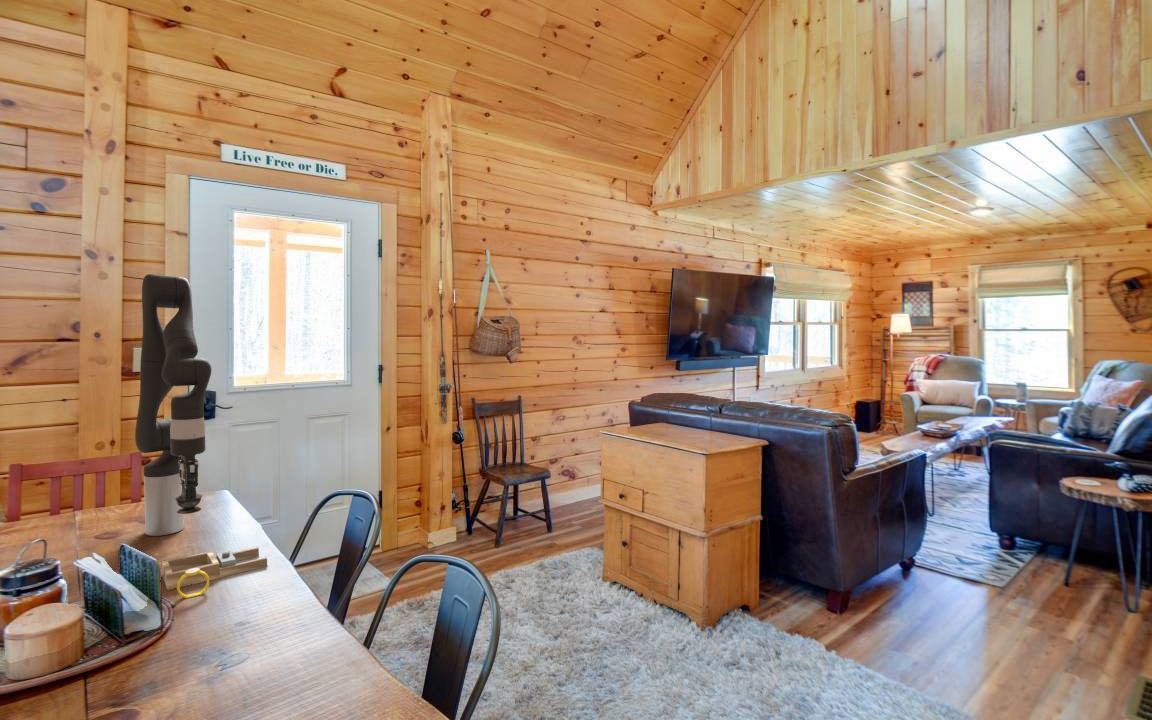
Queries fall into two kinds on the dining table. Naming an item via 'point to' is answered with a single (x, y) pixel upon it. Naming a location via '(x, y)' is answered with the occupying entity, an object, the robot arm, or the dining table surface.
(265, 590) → the dining table surface
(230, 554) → the cover
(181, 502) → the dark stupa figurine
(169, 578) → the holder
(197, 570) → the watch
